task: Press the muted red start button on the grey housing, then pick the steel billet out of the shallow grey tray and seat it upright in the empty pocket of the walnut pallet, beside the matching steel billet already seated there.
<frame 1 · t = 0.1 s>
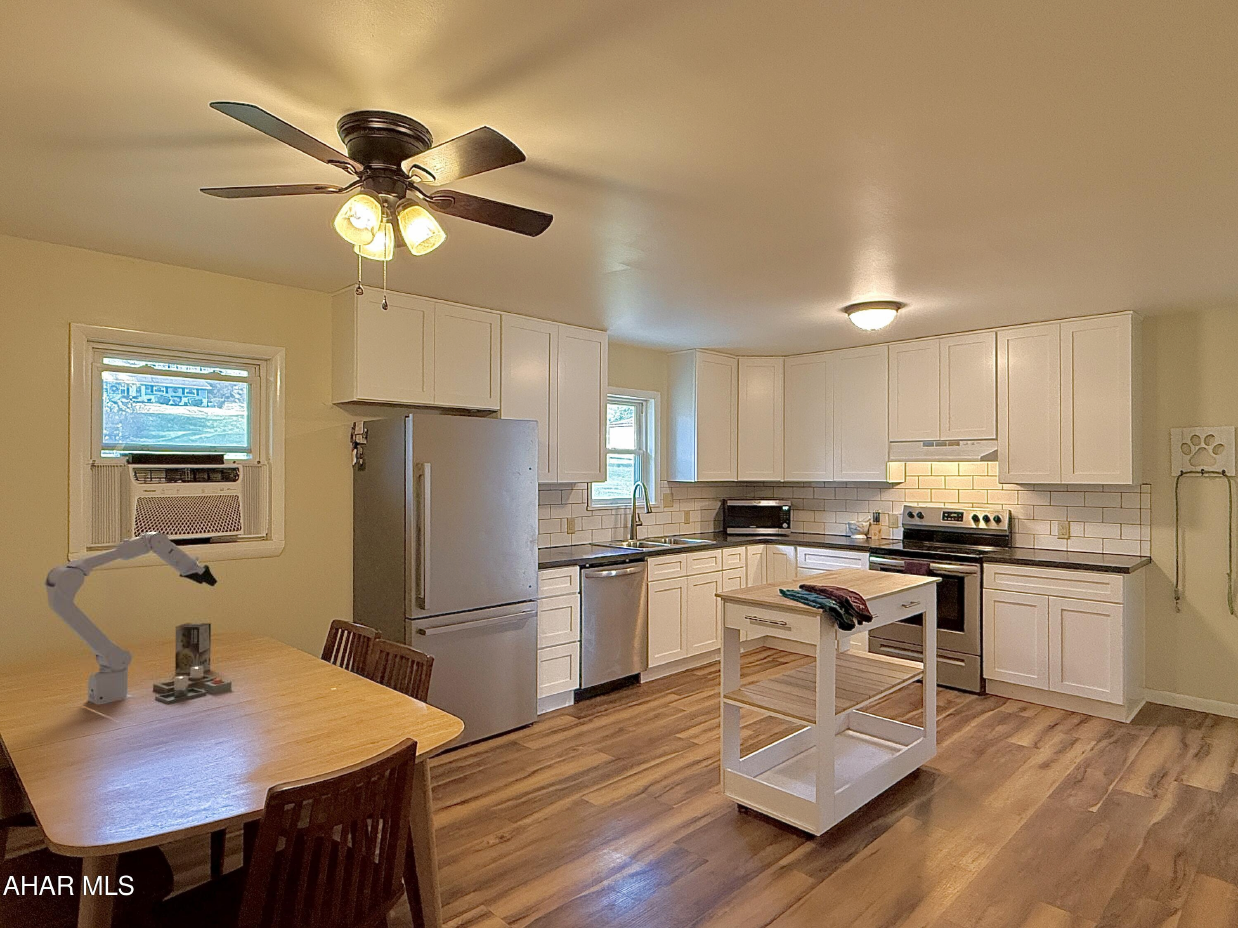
hand: (209, 582, 244), 32 cm above the table, tool tilted 50°, fingers open, 7 cm apart
shallow grey tray: (180, 698, 222), on the table
coffee box: (192, 671, 254), on the table
button housing: (217, 691, 229), on the table
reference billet: (196, 686, 235), resting in pallet
start button: (217, 683, 229), point 3 cm above the table, slide at 0.0 cm
pallet: (185, 688, 232), on the table
billet: (181, 697, 222), resting on shallow grey tray
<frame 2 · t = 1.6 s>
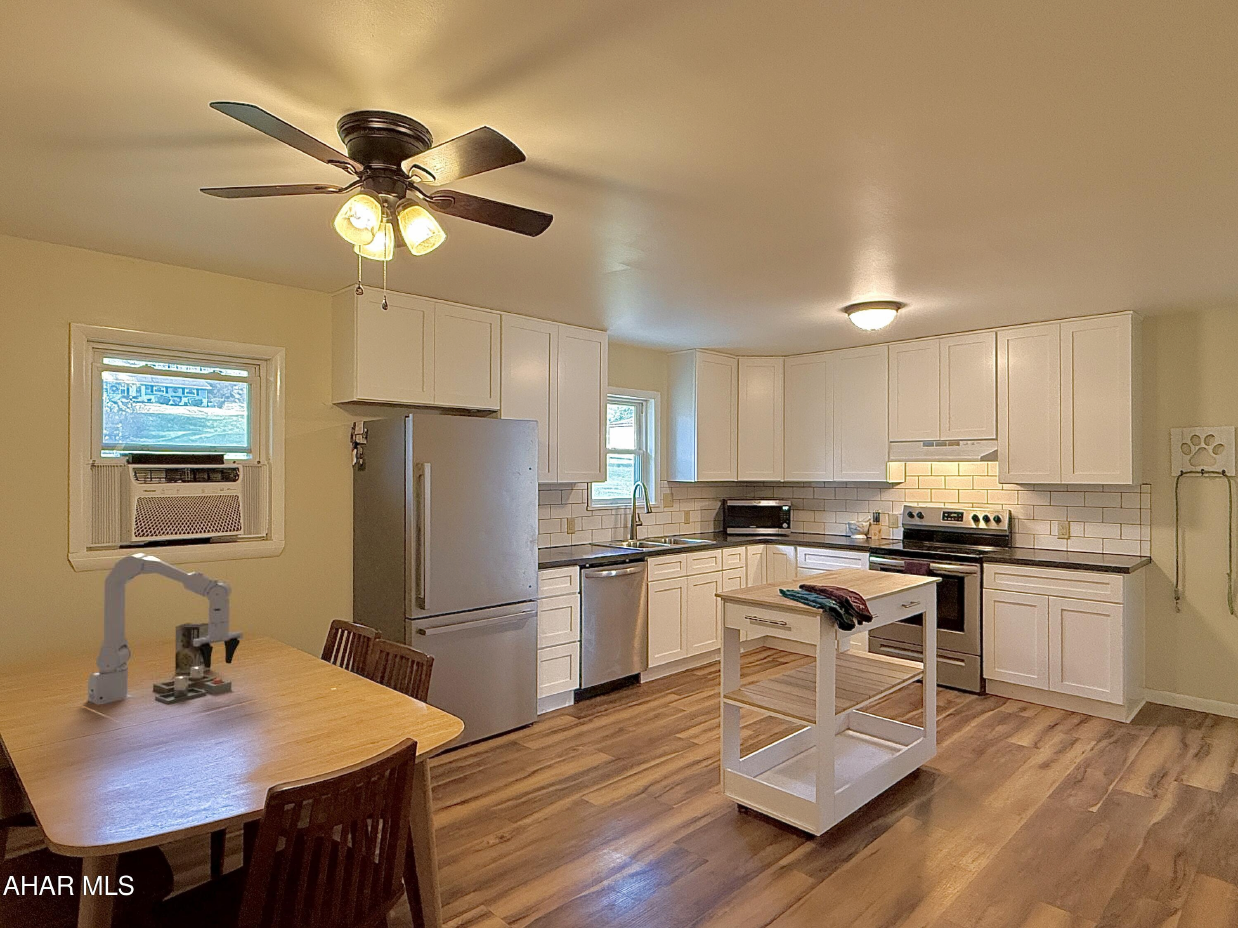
hand: (218, 665, 229), 8 cm above the table, tool pointing down, fingers open, 6 cm apart
nothing on the table moved.
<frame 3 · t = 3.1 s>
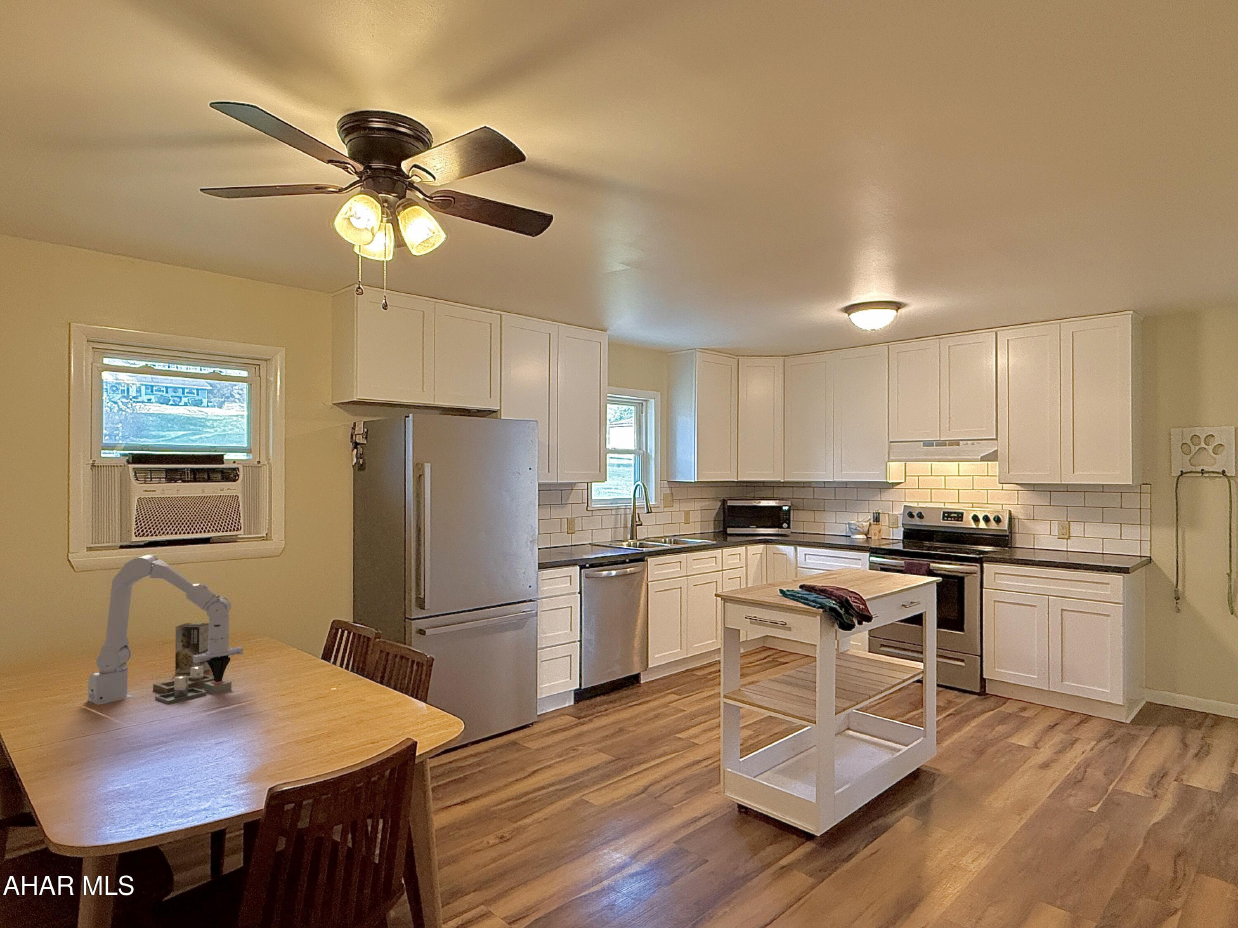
hand: (218, 680, 229), 3 cm above the table, tool pointing down, fingers closed, pressing on start button
start button: (217, 684, 229), point 2 cm above the table, slide at 0.4 cm, touching gripper
everything else where it was.
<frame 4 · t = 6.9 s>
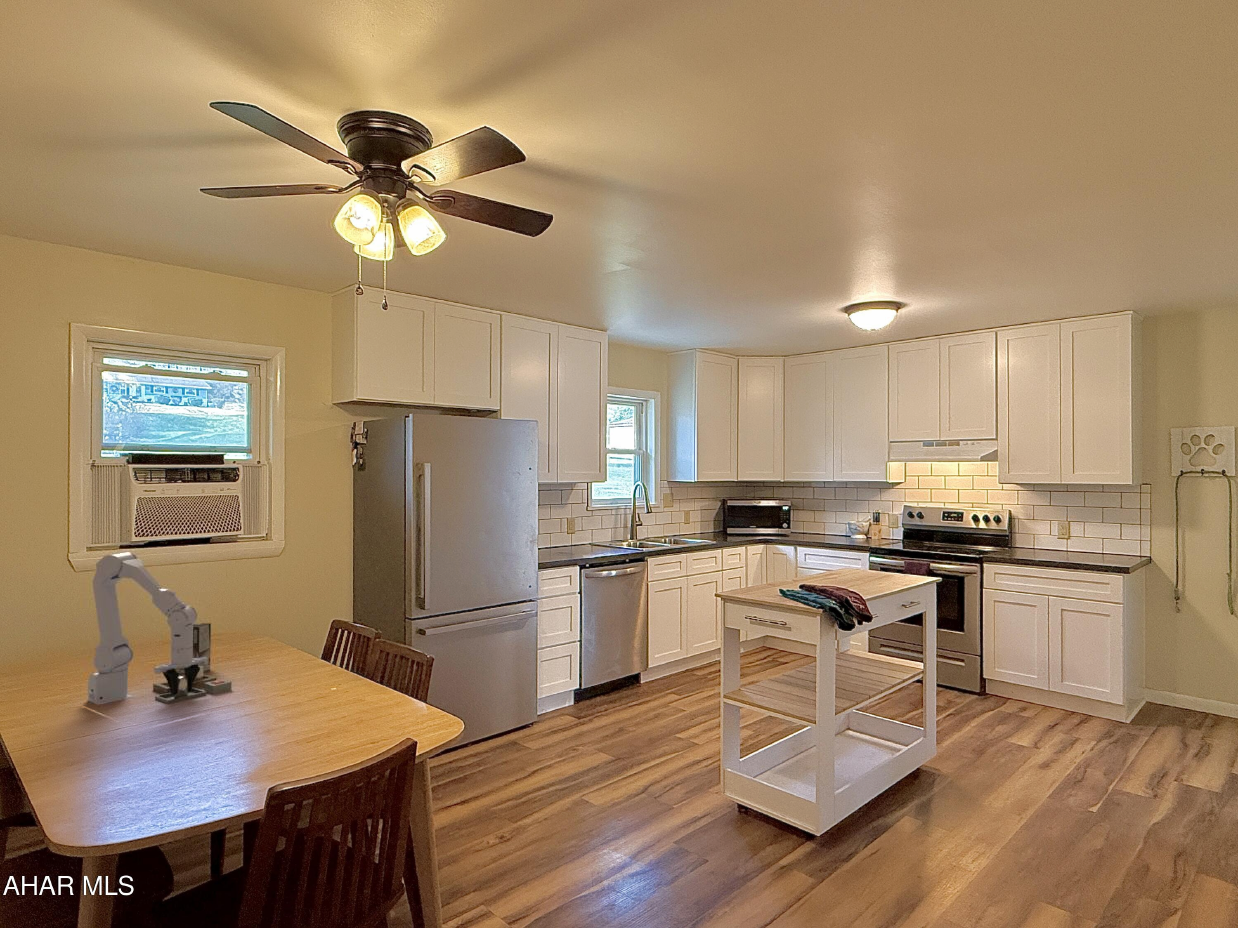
hand: (181, 692, 222), 2 cm above the table, tool pointing down, fingers closed on billet, 4 cm apart
start button: (217, 685, 229), point 2 cm above the table, slide at 0.7 cm
billet: (181, 697, 222), resting on shallow grey tray, touching gripper
everything else where it was.
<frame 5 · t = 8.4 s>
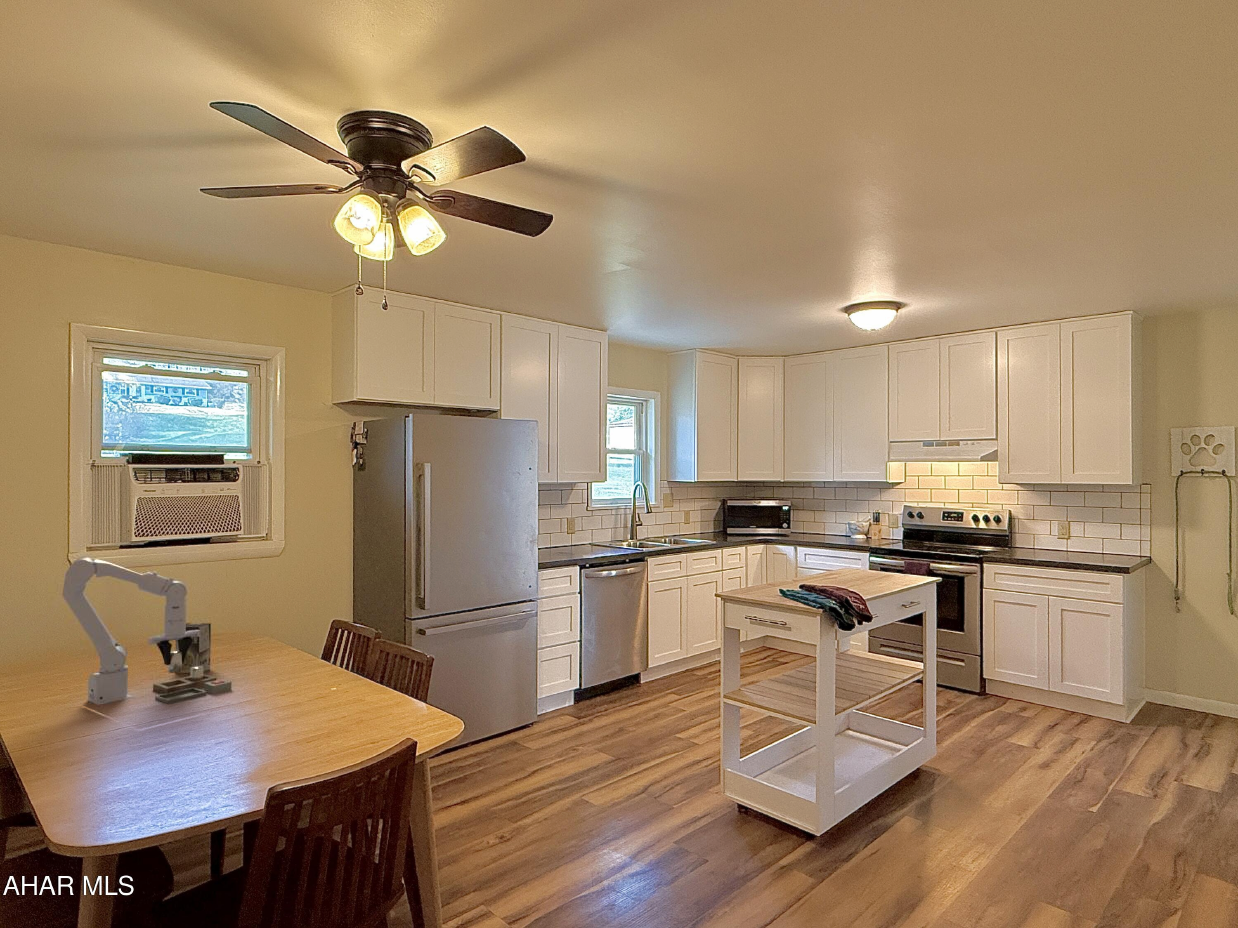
hand: (174, 663, 229), 9 cm above the table, tool pointing down, fingers closed on billet, 4 cm apart
billet: (174, 671, 229), point 6 cm above the table, touching gripper
everything else where it was.
when the fingers open (3 cm above the table, at t = 9.9 s): billet stays where it is, resting in pallet.
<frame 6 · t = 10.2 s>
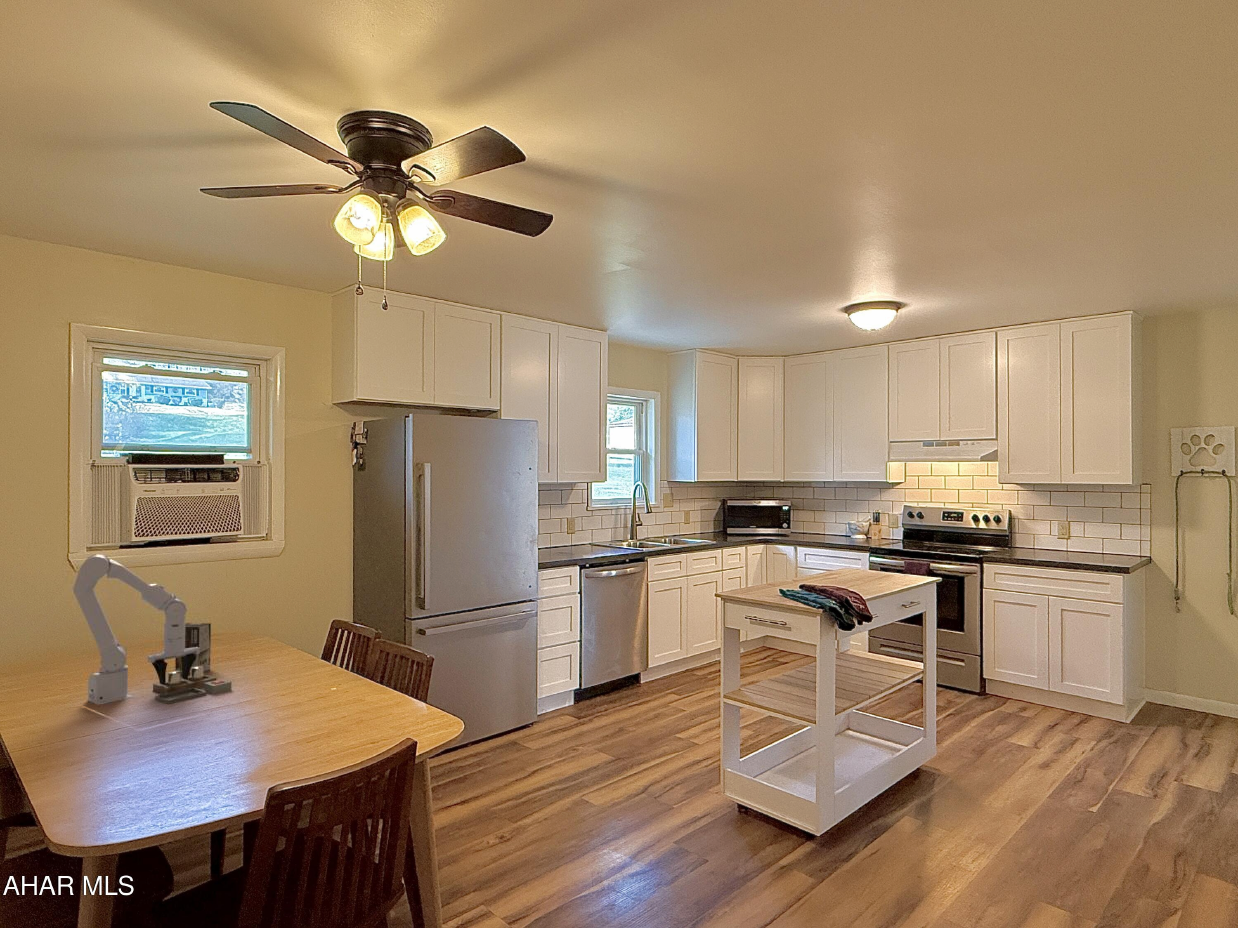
hand: (173, 680, 230), 3 cm above the table, tool pointing down, fingers open, 6 cm apart
billet: (174, 691, 229), resting in pallet
everything else where it was.
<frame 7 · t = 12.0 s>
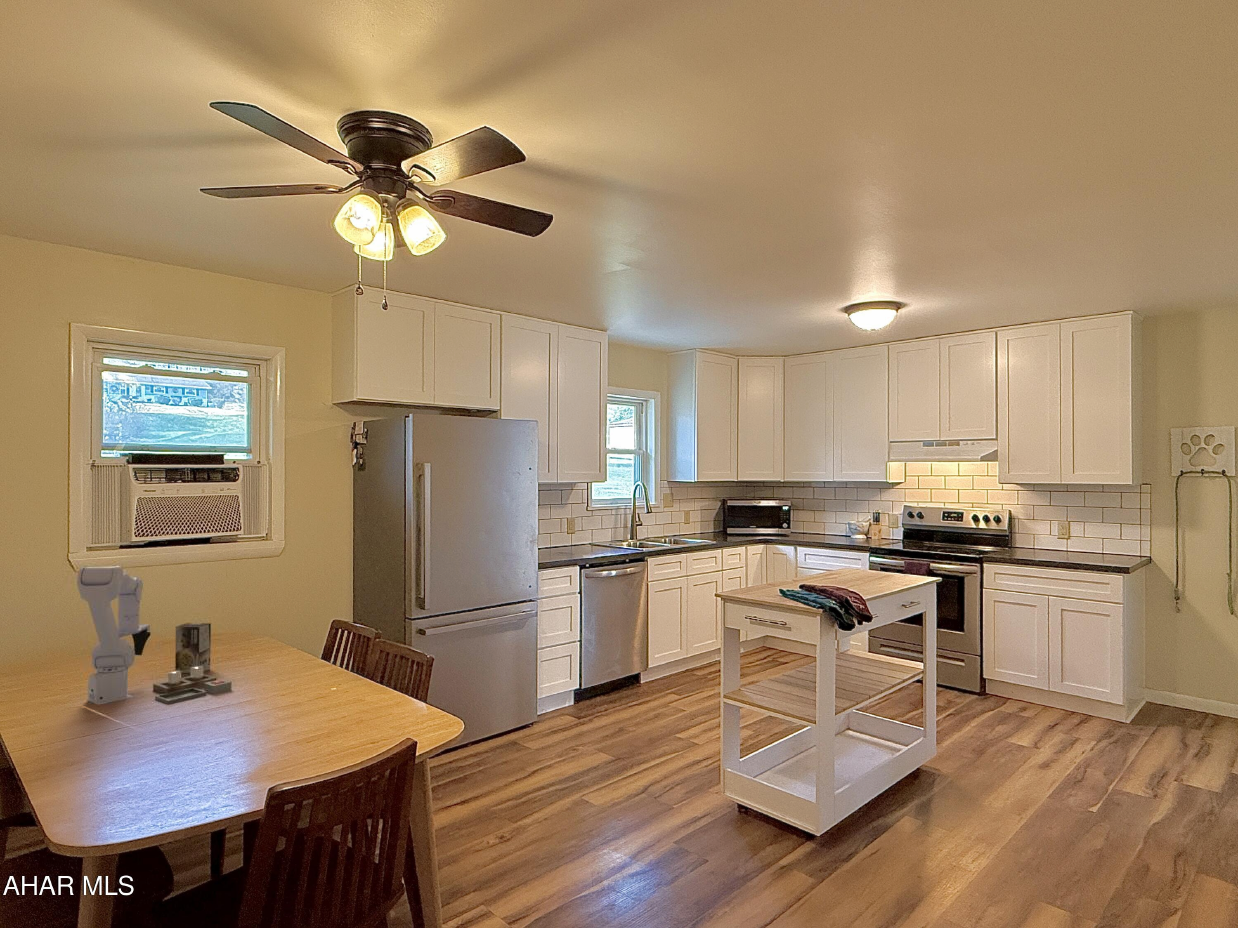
hand: (128, 657, 233), 9 cm above the table, tool pointing down, fingers open, 7 cm apart
nothing on the table moved.
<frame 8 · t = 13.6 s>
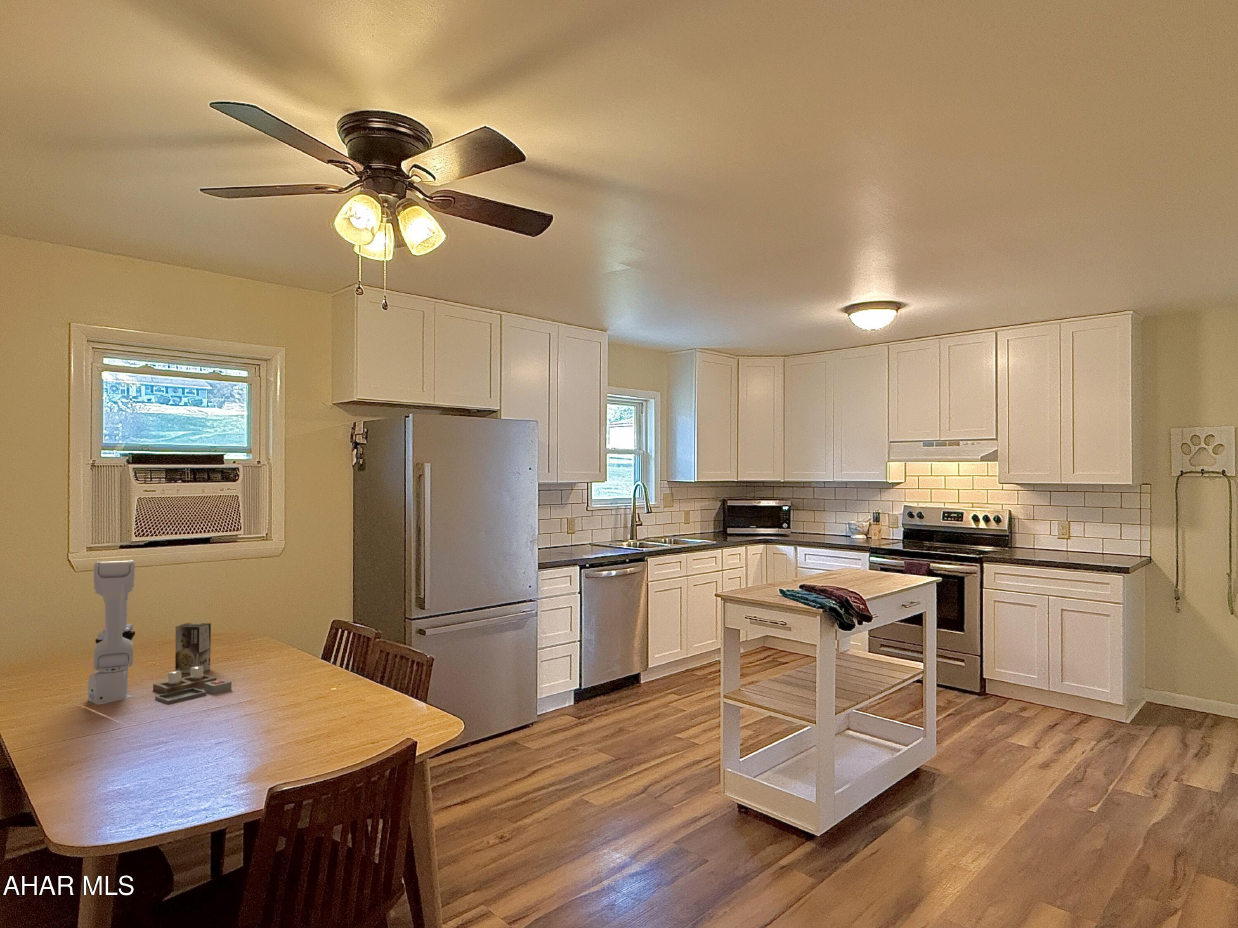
hand: (115, 657, 234), 9 cm above the table, tool pointing down, fingers open, 7 cm apart
nothing on the table moved.
at the end: start button slide at 0.7 cm; billet 0.5 cm from the target spot on the pallet, point 0.0 cm above the pallet's base; billet tilted 0° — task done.
